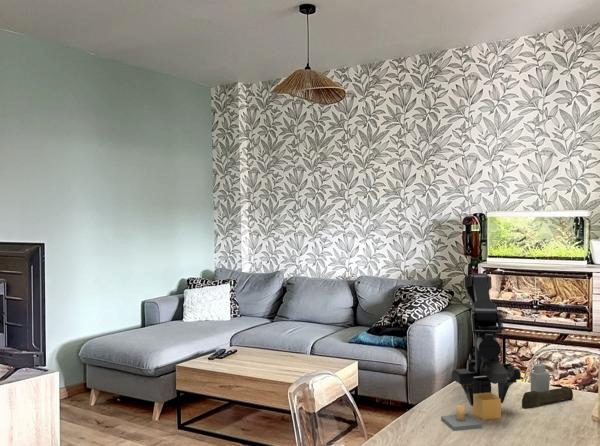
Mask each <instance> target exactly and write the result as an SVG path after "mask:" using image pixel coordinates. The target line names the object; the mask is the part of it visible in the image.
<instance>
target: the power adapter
mask: <svg viewBox="0 0 600 446" xmlns="http://www.w3.org/2000/svg"><path fill="white" fill-rule="evenodd" d="M540 360H541V363H539V358H538V357H536V363H534V364H533V370H532V371H530V392H531V391H537V392H545V391H549V390H550V372H549V371H546V369H547V368H546V365H547V364H546V363H543V356H541V359H540Z"/></svg>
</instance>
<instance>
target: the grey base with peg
mask: <svg viewBox="0 0 600 446" xmlns="http://www.w3.org/2000/svg"><path fill="white" fill-rule="evenodd" d="M440 420H441V421H442V422H444V424H445V425H447V426H448V427H449V428H450V429H451V430H453V431H463V430H471V429H472V430H473V429H482V423H481V422H479V421H478V420H477V419H475V418H474V417H472V415H469V414H468V413H465V405H464V404H456V414H451V415H441V416H440Z"/></svg>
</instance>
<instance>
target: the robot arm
mask: <svg viewBox="0 0 600 446" xmlns="http://www.w3.org/2000/svg"><path fill="white" fill-rule="evenodd" d="M492 285H493V284H492V276H490V275H488V273H483V272H482V273H481V272H479V273H477V272H473V273H471V274H470V275H467V276H466V275H465V276H464V277H463V289H464V290H465V296H466V298H467V299H468V300H469V302H470V303H471V310H470V321H471V329H472V335H473V336H472V339H473V347H472V349H471V350H470V353H469V356H468V359H467V362H466V368H458V369H456V368H455V369H453V371H452V372H451V380H453V381H455V382H456V383H458V384H459V385H460V386H461V387H462V389H463V391H464V393H465V396H466V398H467V401H468V403H469V405H470V406H471V407H473V402H474V400H473V394H478V393H489V392H491V393H492V384H494V385H496V384H497V392H498V397H499V398H500V399H501V404H503V403H504V401H505V398H506V396H507V393H508V391H509V388H510V387H511V386H512V385H513V384H514V383H517V381H519V380H521V379H522V373H521V370H520V368H517V367H514V365H513V364H512V363H511V362H510V363H501V361H500V354H501V350H502V348H501V345H500V342H499V340H498V339H497V334H502V330H504V323H503V317H502V314H501V311H500V310H498V309H497V305H496V303H495V302H494V301H492V300H491V297H490V290H492V287H493V286H492Z"/></svg>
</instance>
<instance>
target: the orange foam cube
mask: <svg viewBox="0 0 600 446" xmlns="http://www.w3.org/2000/svg"><path fill="white" fill-rule="evenodd" d="M473 400H474V402H473V406H472V413H473V414H474V415H476V417H478V418H480V419H481V420H482V421H483V420H494V419H495V420H496V419H501V418H502V405H501V404H502V403H501V399H500V398H499V396H498V395H495V394H493V393H492V391H491V392H489V393H478V394H473Z"/></svg>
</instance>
